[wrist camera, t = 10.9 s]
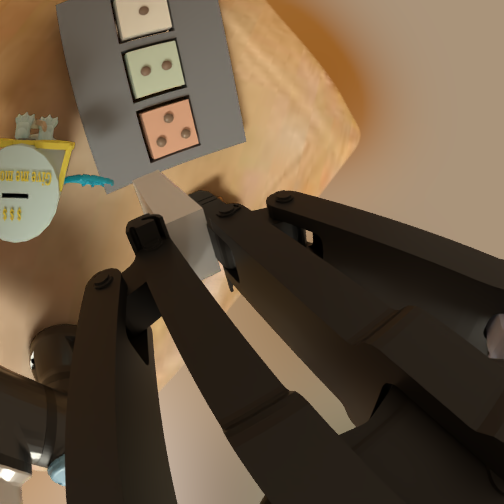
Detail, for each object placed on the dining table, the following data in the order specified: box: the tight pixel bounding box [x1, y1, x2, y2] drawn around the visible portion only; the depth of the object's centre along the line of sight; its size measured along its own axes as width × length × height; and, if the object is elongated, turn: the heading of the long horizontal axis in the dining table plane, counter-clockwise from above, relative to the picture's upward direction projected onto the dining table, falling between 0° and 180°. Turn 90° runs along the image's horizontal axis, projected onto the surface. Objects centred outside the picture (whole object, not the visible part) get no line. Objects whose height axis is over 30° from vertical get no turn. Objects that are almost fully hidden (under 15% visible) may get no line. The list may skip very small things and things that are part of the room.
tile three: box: [138, 99, 199, 159], centre depth 35 cm, size 6×6×3 cm
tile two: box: [124, 41, 185, 99], centre depth 30 cm, size 6×6×3 cm
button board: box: [56, 0, 246, 194], centre depth 30 cm, size 20×26×2 cm
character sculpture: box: [0, 112, 114, 243], centre depth 24 cm, size 20×12×13 cm, turn 72°
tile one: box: [113, 0, 172, 44], centre depth 25 cm, size 6×6×3 cm
